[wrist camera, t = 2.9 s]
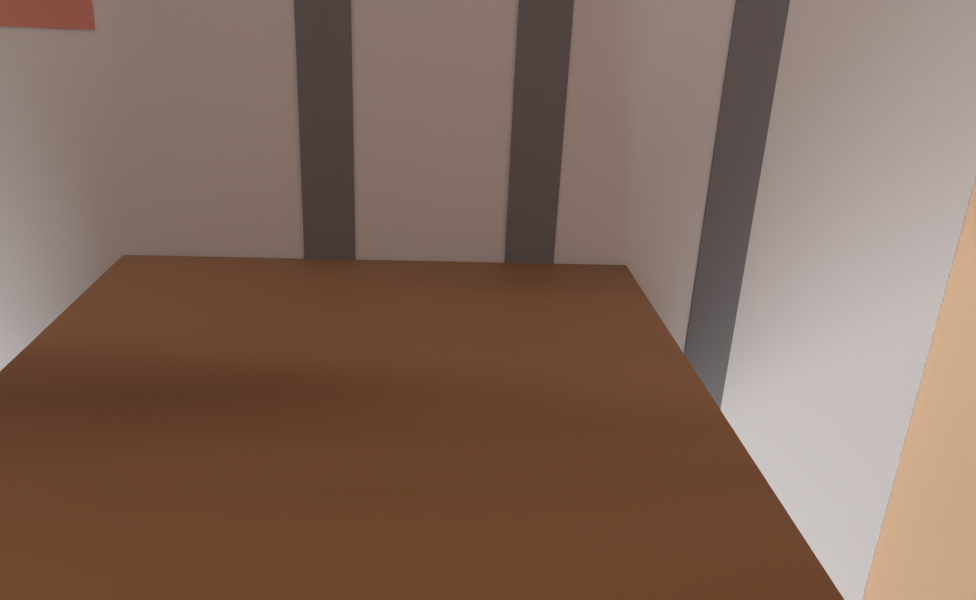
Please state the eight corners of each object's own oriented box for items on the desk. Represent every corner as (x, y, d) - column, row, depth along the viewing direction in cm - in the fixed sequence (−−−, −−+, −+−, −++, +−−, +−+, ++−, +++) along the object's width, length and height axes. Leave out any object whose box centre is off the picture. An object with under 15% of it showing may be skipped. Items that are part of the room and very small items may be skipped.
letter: (769, 894, 13) (777, 915, 13) (-30, 925, 12) (-42, 949, 12) (1094, -353, 7) (1123, -368, 7) (-446, -480, 6) (-492, -503, 6)
